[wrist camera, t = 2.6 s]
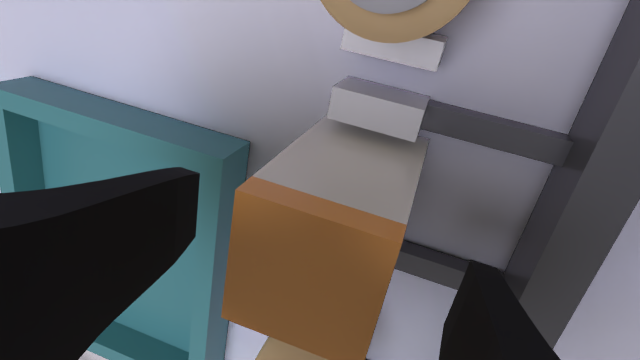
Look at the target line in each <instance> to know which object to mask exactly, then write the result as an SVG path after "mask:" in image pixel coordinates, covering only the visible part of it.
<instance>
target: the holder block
mask: <svg viewBox="0 0 640 360" xmlns="http://www.w3.org/2000/svg"><path fill="white" fill-rule="evenodd" d="M447 38H448V37H446V36H441V35H437V34H432V33H431V34H429V35H427V36H424V37H422V38H419V39H416V40H412V41H408V42H402V43H381V42H375V41H371V40H367V39H364V38H362V37H359V36H357V35H355V34H353V33H352V32H350V31H348V30H347V29H345V28H344V32H343V37H342V42H341V47H340V49H341V50H345V51H350V52H354V53H358V54H362V55H366V56H370V57H374V58H379V59H383V60H387V61H391V62H395V63H399V64H403V65H408V66H412V67H416V68H420V69H424V70H428V71H432V72H436V71H437V69H438V67H439V64H440V61H441V58H442V55H443V52H444V48H445V45H446V42H447ZM429 98H430V96H426V95H422V94H418V93H414V92H410V91H406V90H402V89H398V88H394V87H391V86H387V85H383V84H379V83H375V82H371V81H367V80H363V79H359V78H355V77H351V76H348V77H346V78H345V79H343V80H342V81H340V82H339V83H337V84H336V85H334V86H333V87H332V92H331V97H330V103H329V108H328V113H327V118H328V119H332V120H336V121H339V122H343V123H346V124H350V125H354V126H357V127H361V128H364V129H368V130H372V131H375V132H379V133H383V134H386V135H390V136H393V137H397V138H401V139H404V140H408V141H411V142H415V141H416V139H417V136H418V133H419V130H420V129H423V130H427V131H430V132H434V133H438V134H442V135H445V136H449V137H453V138H456V139H460V140H464V141H468V142H471V143H475V144H479V145H482V146H486V147H490V148H494V149H497V150H501V151H505V152H508V153H512V154H516V155H519V156H523V157H527V158H531V159H534V160H538V161H542V162H545V163H549V164H553V165H554V167H553V169H552V171H551V173H550V175H549V177H548V180H547V182H546V184H545V186H544V188H543V190H542V193H541V195H540V197H539V199H538V201H537V203H536V206H535V208H534V210H533V212H532V214H531V216H530V219H529V221H528V223H527V225H526V227H525V229H524V232H523V234H522V236H521V238H520V240H519V242H518V245H517V247H516V249H515V251H514V253H513V255H512V258H511V260H510V262H509V264H508V266H507V268H506V271H505V273H502V272H500V273H501V275H502V276H503V278H504V279H505V281H506V282H507V284H508V285H509V287H510V289H511V290H512V292H513V293H514V295H515V296H516V298H517V299H518V301H519V302H520V304H521V306H522V307H523V309H524V310H525V312H526V313H527V315H528V316H529V317H530V319H531V320H532V322H533V323H534V325H535V326H536V328H537V329H538V330H539V332H540V333H541V335H542V336H543V337H544V339H545V340H546V342H547V343H548V344H549V346H550V347H551V348H552V350H553V348H554V346H555V344H556V343H557V341H558V339H559V337H560V336H561V334H562V332H563V331H564V329H565V327H566V325H567V324H568V322H569V320H570V318H571V317H572V315H573V313H574V312H575V310H576V308H577V306H578V305H579V303H580V301H581V299H582V298H583V296H584V294H585V293H586V291H587V289H588V287H589V286H590V284H591V282H592V280H593V279H594V277H595V275H596V274H597V272H598V270H599V268H600V267H601V265H602V263H603V261H604V260H605V258H606V256H607V255H608V253H609V251H610V249H611V248H612V246H613V244H614V242H615V241H616V239H617V237H618V236H619V234H620V232H621V230H622V229H623V227H624V225H625V223H626V222H627V220H628V218H629V217H630V215H631V213H632V211H633V210H634V208H635V206H636V204H637V203H638V201H639V199H640V0H630V2H629V4H628V6H627V9H626V11H625V13H624V15H623V17H622V19H621V22H620V24H619V26H618V28H617V30H616V32H615V35H614V37H613V39H612V41H611V43H610V45H609V48H608V50H607V52H606V54H605V56H604V58H603V61H602V63H601V65H600V67H599V69H598V71H597V74H596V76H595V78H594V80H593V82H592V84H591V87H590V89H589V91H588V93H587V95H586V97H585V100H584V102H583V104H582V106H581V108H580V110H579V113H578V115H577V117H576V119H575V121H574V123H573V126H572V128H571V130H570V132H569V134H568V135H567V134H563V133H559V132H555V131H551V130H547V129H543V128H539V127H535V126H531V125H527V124H523V123H520V122H516V121H512V120H508V119H504V118H500V117H496V116H492V115H488V114H484V113H480V112H476V111H472V110H469V109H465V108H461V107H457V106H453V105H449V104H445V103H441V102H437V101H433V100H429ZM468 265H469V262H468V261H465V260H462V259H459V258H456V257H453V256H450V255H447V254H444V253H441V252H438V251H434V250H431V249H428V248H425V247H422V246H419V245H416V244H413V243H410V242H407V241H404V240H403V242H402V245H401V249H400V252H399V255H398V258H397V261H396V264H395V267H394V269H397V270H400V271H403V272H406V273H409V274H412V275H415V276H418V277H421V278H424V279H427V280H430V281H433V282H435V283H438V284H441V285H444V286H447V287H450V288H453V289H456V290H458V289H459V287H460V284H461V282H462V279H463V277H464V275H465V272H466V270H467V267H468ZM365 360H366V359H365Z"/></svg>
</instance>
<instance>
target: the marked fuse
mask: <svg viewBox="0 0 640 360" xmlns="http://www.w3.org/2000/svg"><path fill="white" fill-rule="evenodd" d="M429 140H430V139H428V138H425V137H421V136H417V139H416V141H415V142H411V141H408V140H404V139H401V138H397V137H393V136H390V135H386V134H383V133H379V132H375V131H372V130H368V129H364V128H361V127H357V126H354V125H350V124H346V123H343V122H339V121H336V120H332V119H328V118H327V115H326V116H324V117H323V118H322V119H321V120H320V121H318V122H317V123H316V124H315V125H313V126H312V127H311V128H310V129H309V130H307V131H306V132H305V133H304V134H302V135H301V136H300V137H299V138H298V139H296V140H295V141H294V142H293V143H291V144H290V145H289V146H288V147H287V148H285V149H284V150H283V151H282V152H280V153H279V154H278V155H277V156H276V157H274V158H273V159H272V160H271V161H269V162H268V163H267V164H266V165H265V166H263V167H262V168H261V169H260V170H259V171H257V172H256V173H255V174H254V175H252V176H251V177H250V178H249V179H248V180H246V181H245V182H244V183H243V184H241V185H240V186H239V187H238V188H237V189H235V197H234V206H233V215H232V224H231V233H230V242H229V251H228V260H227V269H226V278H225V286H224V295H223V304H222V313H221V318H224V319H226V320H229V321H231V322H234V323H236V324H239V325H241V326H244V327H246V328H249V329H252V330H254V331H257V332H259V333H262V334H264V335H267V336H269V337H272V338H274V339H277V340H279V341H282V342H285V343H287V344H290V345H292V346H295V347H297V348H300V349H302V350H305V351H307V352H310V353H312V354H315V355H318V356H320V357H323V358H325V359H328V360H365V358H366V355H367V352H368V348H369V345H370V342H371V339H372V336H373V333H374V330H375V327H376V324H377V320H378V317H379V314H380V311H381V308H382V305H383V302H384V299H385V295H386V292H387V289H388V286H389V283H390V280H391V277H392V274H393V270H394V267H395V264H396V261H397V258H398V255H399V252H400V249H401V245H402V242H403V238H404V234H405V231H406V227H407V223H408V219H409V216H410V212H411V208H412V204H413V200H414V197H415V193H416V189H417V185H418V181H419V178H420V174H421V170H422V166H423V162H424V159H425V155H426V151H427V147H428V144H429Z"/></svg>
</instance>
